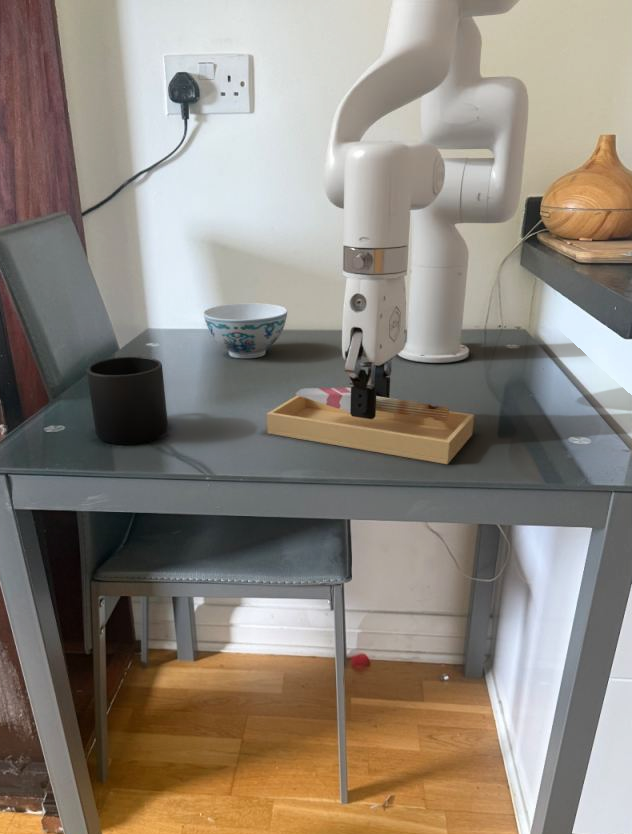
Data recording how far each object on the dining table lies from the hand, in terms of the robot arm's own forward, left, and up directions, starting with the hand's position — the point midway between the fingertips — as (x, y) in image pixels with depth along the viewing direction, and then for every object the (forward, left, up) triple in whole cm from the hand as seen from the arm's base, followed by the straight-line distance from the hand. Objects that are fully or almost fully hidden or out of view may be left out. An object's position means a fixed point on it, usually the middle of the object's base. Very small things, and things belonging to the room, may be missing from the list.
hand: (369, 410), depth 91 cm
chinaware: (-29, -36, -3) cm, 46 cm away
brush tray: (0, 0, -3) cm, 3 cm away
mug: (+12, -29, -3) cm, 31 cm away
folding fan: (0, 0, 0) cm, 0 cm away
